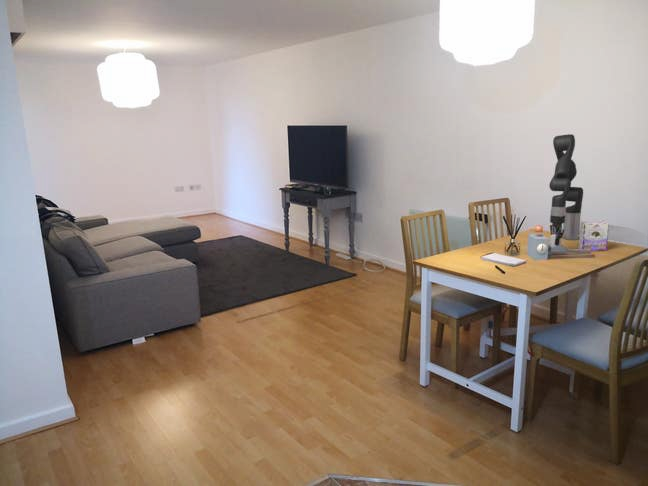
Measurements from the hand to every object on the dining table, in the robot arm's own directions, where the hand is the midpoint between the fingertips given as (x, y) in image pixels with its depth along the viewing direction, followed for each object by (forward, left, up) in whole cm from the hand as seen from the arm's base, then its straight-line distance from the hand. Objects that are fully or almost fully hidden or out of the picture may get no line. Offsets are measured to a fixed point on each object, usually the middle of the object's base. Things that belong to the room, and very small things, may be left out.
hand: (555, 244), depth 281 cm
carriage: (0, 0, -3) cm, 3 cm away
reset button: (0, -10, +8) cm, 13 cm away
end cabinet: (0, -10, -7) cm, 12 cm away
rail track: (0, +7, -7) cm, 10 cm away
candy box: (-12, +27, -7) cm, 30 cm away
